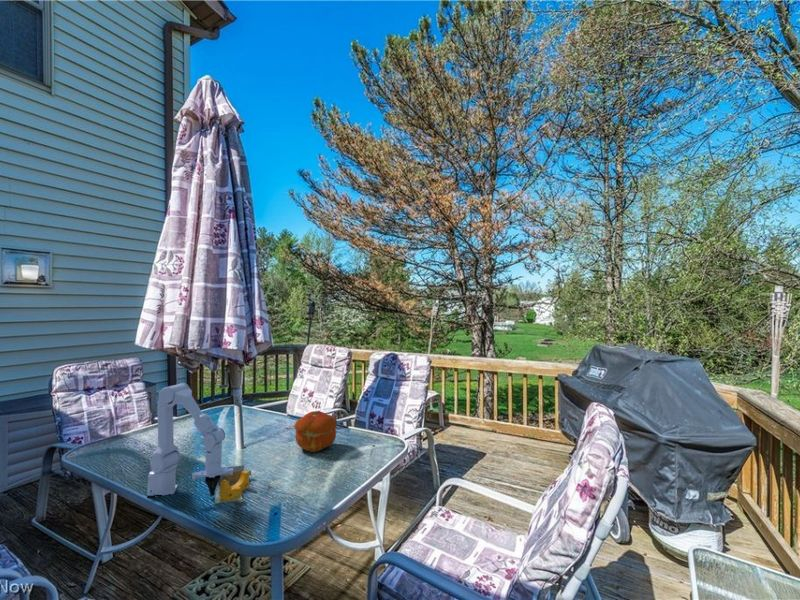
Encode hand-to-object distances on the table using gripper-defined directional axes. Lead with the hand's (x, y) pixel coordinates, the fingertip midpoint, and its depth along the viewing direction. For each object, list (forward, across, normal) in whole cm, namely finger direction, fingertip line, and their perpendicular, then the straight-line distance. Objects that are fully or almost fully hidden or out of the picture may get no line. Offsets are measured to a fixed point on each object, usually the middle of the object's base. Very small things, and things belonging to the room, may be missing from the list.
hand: (212, 494), depth 152 cm
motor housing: (+1, +8, +6) cm, 10 cm away
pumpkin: (+2, +46, +42) cm, 62 cm away
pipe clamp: (+1, +9, +2) cm, 9 cm away
